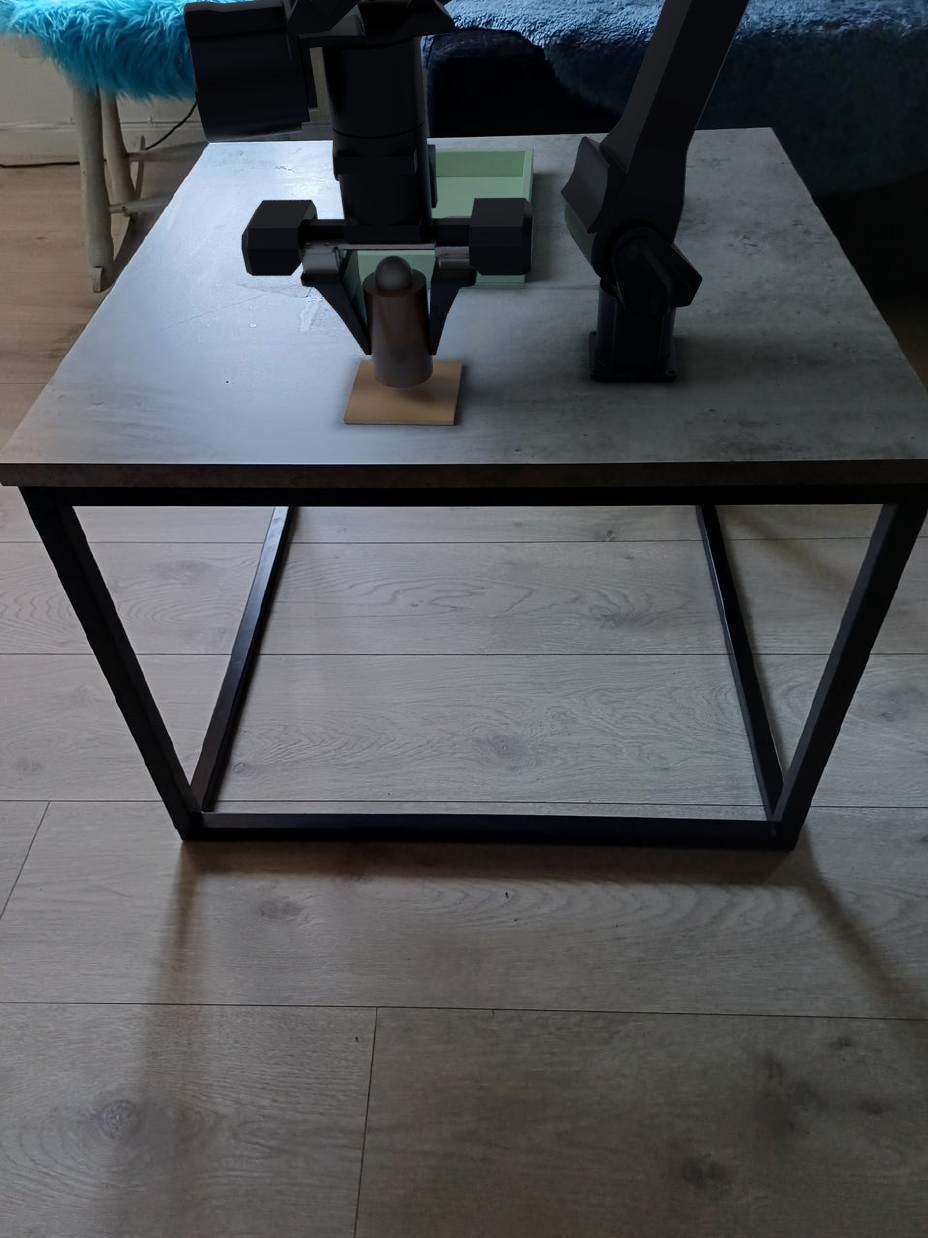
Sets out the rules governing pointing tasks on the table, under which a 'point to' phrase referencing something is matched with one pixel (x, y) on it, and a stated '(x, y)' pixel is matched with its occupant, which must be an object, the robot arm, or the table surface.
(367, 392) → the cork mat
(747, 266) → the table surface
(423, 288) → the pepper mill
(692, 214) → the table surface
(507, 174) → the tray
